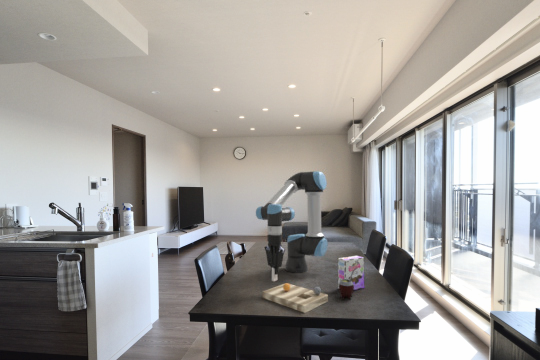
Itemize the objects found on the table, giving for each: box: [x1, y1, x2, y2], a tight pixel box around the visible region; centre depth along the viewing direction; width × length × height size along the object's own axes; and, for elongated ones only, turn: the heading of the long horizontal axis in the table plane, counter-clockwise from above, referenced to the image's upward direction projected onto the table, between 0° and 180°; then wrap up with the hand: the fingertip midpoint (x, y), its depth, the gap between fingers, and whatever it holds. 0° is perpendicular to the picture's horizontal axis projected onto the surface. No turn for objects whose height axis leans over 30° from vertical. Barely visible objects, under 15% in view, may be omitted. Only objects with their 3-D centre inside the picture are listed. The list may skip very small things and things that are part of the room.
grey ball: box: [312, 286, 322, 295], centre depth 137 cm, size 4×4×4 cm
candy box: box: [337, 255, 365, 291], centre depth 154 cm, size 14×6×16 cm, turn 117°
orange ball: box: [283, 282, 290, 291], centre depth 143 cm, size 4×4×4 cm
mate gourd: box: [339, 268, 357, 301], centre depth 142 cm, size 8×8×15 cm
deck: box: [262, 283, 329, 314], centre depth 139 cm, size 26×18×3 cm
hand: (274, 280), depth 148 cm, fingers closed
